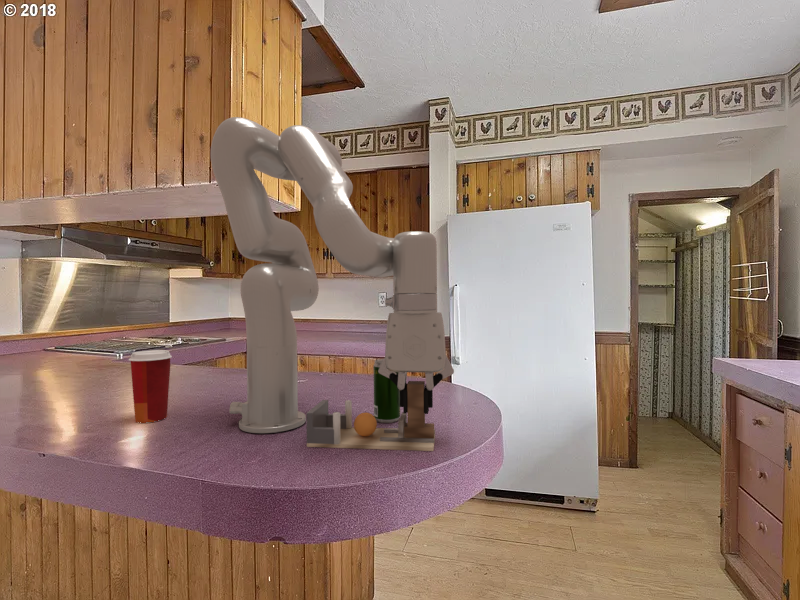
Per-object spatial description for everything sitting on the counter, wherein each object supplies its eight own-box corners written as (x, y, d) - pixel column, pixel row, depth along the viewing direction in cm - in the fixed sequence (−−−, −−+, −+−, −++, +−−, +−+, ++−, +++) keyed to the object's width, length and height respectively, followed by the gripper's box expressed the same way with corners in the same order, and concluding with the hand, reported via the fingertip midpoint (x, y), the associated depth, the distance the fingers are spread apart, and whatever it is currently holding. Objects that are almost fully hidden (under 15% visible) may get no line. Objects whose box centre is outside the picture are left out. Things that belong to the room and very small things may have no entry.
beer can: (382, 425, 79) (382, 363, 79) (369, 418, 83) (368, 360, 83) (405, 420, 82) (404, 360, 82) (391, 414, 86) (390, 357, 86)
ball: (351, 439, 69) (351, 415, 69) (356, 431, 73) (356, 409, 73) (374, 440, 69) (374, 416, 69) (378, 432, 73) (378, 410, 73)
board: (306, 446, 68) (306, 440, 68) (323, 429, 76) (323, 423, 76) (433, 451, 65) (433, 444, 65) (435, 432, 74) (435, 426, 74)
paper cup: (176, 412, 89) (175, 349, 89) (168, 422, 82) (167, 353, 82) (134, 416, 87) (134, 350, 87) (123, 426, 80) (122, 355, 80)
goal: (306, 443, 67) (306, 413, 67) (323, 426, 77) (323, 399, 77) (339, 444, 67) (339, 414, 67) (352, 427, 76) (352, 400, 76)
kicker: (434, 430, 73) (434, 379, 73) (433, 442, 67) (432, 386, 67) (402, 429, 73) (401, 379, 73) (398, 441, 67) (397, 386, 67)
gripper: (364, 305, 67) (365, 416, 67) (464, 304, 65) (465, 419, 65) (372, 304, 75) (373, 405, 75) (462, 304, 73) (463, 406, 73)
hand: (416, 410), depth 70 cm, fingers closed on kicker, 2 cm apart
